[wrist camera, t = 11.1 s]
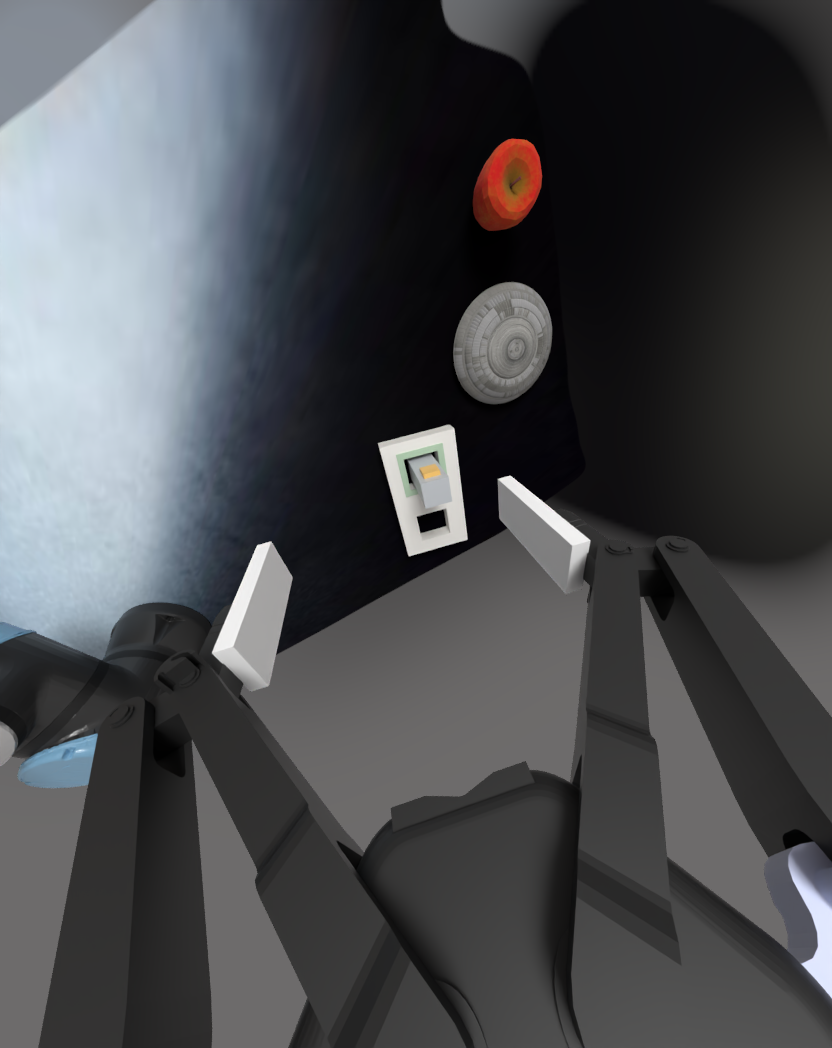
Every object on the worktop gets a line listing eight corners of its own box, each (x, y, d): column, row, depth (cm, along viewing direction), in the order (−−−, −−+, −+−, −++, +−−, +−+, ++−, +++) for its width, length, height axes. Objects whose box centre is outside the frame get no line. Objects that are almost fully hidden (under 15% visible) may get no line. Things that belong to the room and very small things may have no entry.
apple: (474, 254, 37) (501, 236, 31) (454, 190, 34) (478, 156, 28) (518, 221, 36) (555, 197, 30) (502, 154, 33) (538, 110, 27)
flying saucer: (455, 280, 38) (470, 272, 34) (557, 287, 41) (584, 280, 37) (446, 403, 46) (457, 409, 42) (532, 402, 49) (552, 408, 44)
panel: (406, 548, 59) (408, 557, 57) (377, 443, 47) (379, 448, 45) (463, 532, 60) (467, 540, 58) (449, 424, 48) (454, 428, 45)
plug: (411, 478, 51) (425, 508, 42) (405, 453, 49) (419, 479, 40) (432, 473, 52) (452, 501, 42) (428, 447, 49) (447, 471, 40)
